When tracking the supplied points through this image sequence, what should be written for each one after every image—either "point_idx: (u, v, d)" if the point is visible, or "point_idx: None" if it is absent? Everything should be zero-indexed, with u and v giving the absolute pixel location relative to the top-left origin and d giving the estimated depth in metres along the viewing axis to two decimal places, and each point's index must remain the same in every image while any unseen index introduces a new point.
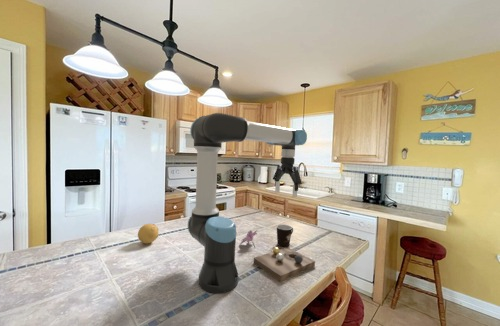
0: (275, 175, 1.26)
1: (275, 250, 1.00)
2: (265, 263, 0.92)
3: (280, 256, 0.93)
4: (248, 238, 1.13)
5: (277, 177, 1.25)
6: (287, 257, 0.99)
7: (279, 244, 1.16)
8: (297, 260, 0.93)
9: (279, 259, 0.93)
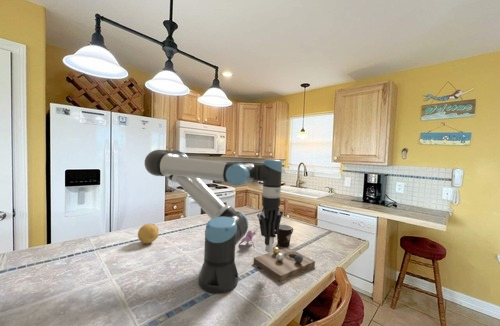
0: None
1: (275, 250, 1.00)
2: (265, 263, 0.92)
3: (280, 256, 0.93)
4: (247, 238, 1.13)
5: None
6: (287, 257, 0.99)
7: (279, 244, 1.16)
8: (297, 260, 0.93)
9: (279, 259, 0.93)
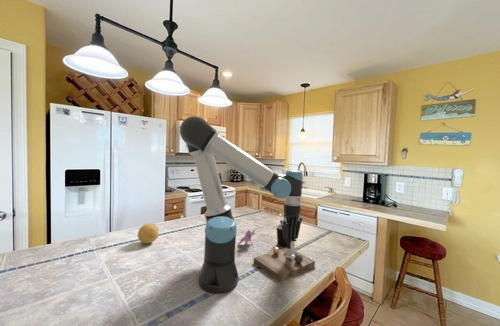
0: None
1: (275, 250, 1.00)
2: (265, 263, 0.92)
3: None
4: (246, 238, 1.13)
5: None
6: (287, 257, 0.99)
7: (279, 244, 1.16)
8: (297, 260, 0.93)
9: None
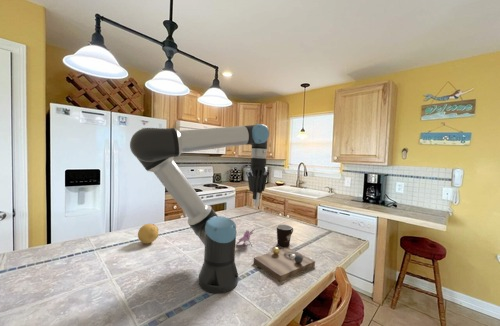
0: None
1: (275, 250, 1.00)
2: (265, 263, 0.92)
3: (293, 257, 0.99)
4: (245, 238, 1.13)
5: None
6: (287, 257, 0.99)
7: (279, 244, 1.16)
8: (297, 260, 0.93)
9: None
